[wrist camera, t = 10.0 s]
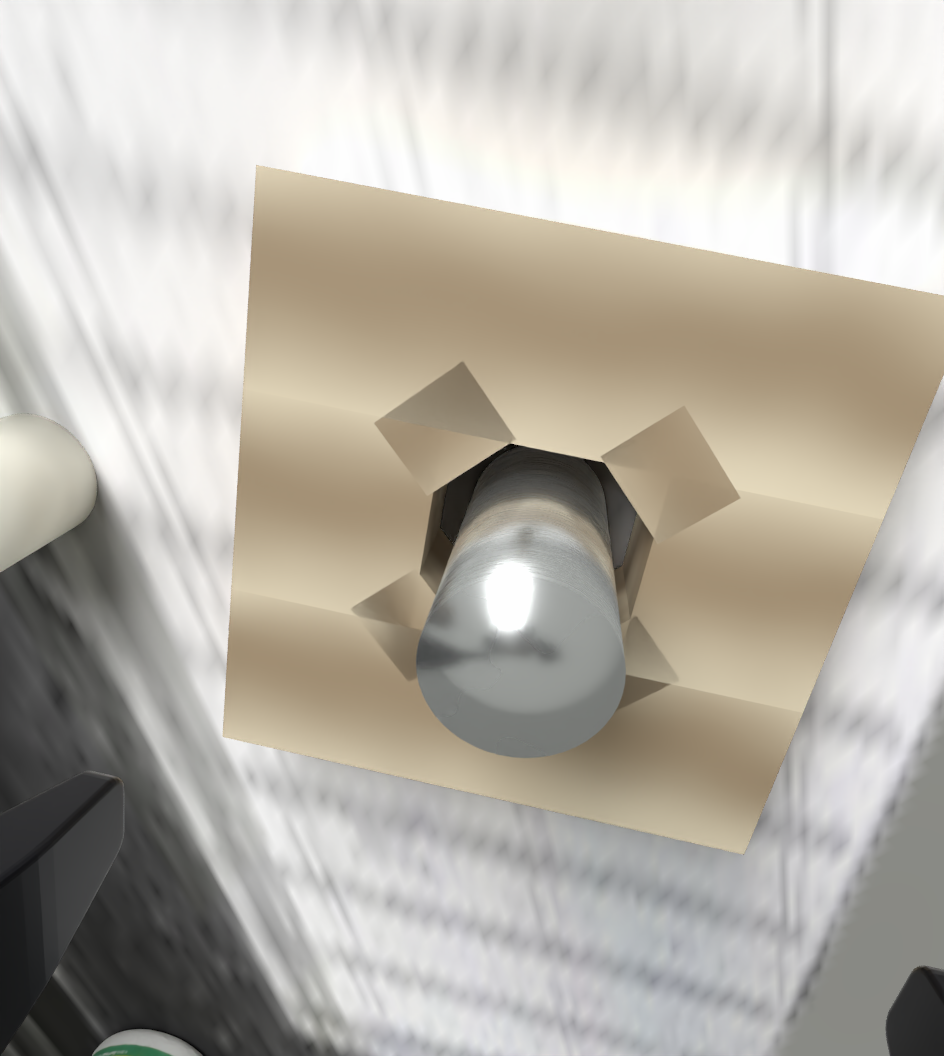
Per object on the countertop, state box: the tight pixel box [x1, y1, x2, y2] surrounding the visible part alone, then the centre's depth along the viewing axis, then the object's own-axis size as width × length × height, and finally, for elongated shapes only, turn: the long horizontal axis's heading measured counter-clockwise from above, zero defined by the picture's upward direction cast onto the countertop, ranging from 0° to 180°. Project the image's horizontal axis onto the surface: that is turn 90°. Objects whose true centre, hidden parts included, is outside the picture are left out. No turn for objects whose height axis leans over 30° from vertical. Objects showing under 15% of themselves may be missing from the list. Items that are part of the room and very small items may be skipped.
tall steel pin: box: [416, 446, 626, 758], centre depth 16 cm, size 4×4×8 cm
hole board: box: [223, 165, 944, 855], centre depth 19 cm, size 14×14×3 cm
